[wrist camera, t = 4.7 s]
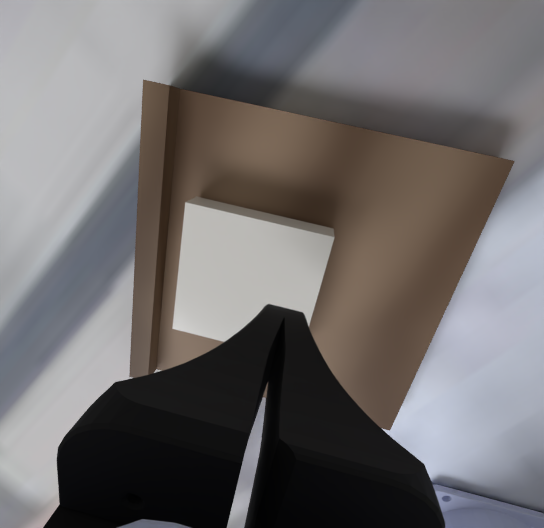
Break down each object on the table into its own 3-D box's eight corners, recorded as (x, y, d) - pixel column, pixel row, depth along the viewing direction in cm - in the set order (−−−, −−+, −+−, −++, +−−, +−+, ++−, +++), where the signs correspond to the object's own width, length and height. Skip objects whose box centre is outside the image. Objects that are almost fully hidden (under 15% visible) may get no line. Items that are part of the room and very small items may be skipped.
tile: (334, 237, 13) (185, 202, 13) (298, 361, 15) (172, 328, 16) (333, 227, 14) (198, 195, 15) (300, 342, 17) (184, 312, 17)
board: (498, 158, 14) (530, 163, 12) (386, 413, 19) (393, 446, 17) (168, 87, 14) (143, 79, 12) (149, 351, 20) (129, 376, 18)
